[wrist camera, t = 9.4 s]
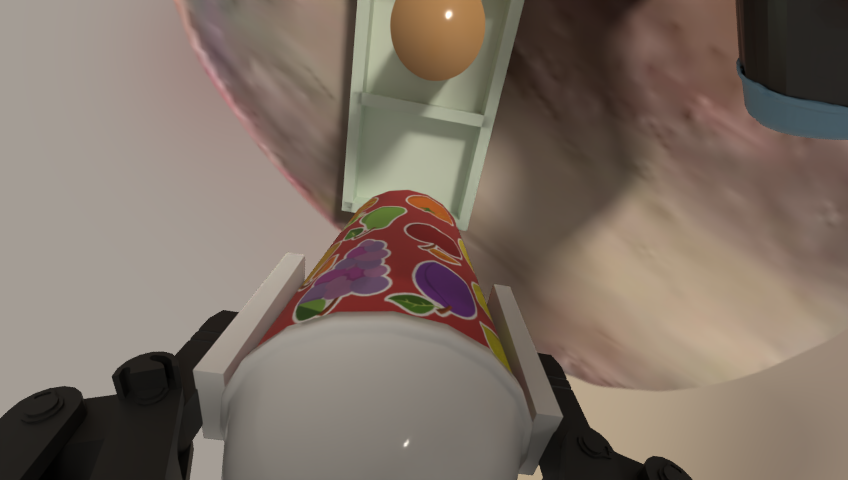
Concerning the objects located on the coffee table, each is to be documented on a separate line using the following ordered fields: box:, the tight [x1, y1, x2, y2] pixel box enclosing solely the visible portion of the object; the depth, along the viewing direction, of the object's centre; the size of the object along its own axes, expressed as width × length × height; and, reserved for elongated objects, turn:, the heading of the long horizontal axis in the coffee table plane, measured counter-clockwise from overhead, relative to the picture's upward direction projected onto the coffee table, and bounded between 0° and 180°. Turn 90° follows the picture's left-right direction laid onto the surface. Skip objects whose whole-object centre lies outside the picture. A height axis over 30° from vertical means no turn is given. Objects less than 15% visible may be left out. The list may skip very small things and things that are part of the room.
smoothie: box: [219, 190, 533, 480], centre depth 13 cm, size 8×8×20 cm
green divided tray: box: [342, 0, 524, 231], centre depth 37 cm, size 26×15×4 cm, turn 170°
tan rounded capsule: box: [390, 0, 485, 81], centre depth 29 cm, size 6×6×14 cm
